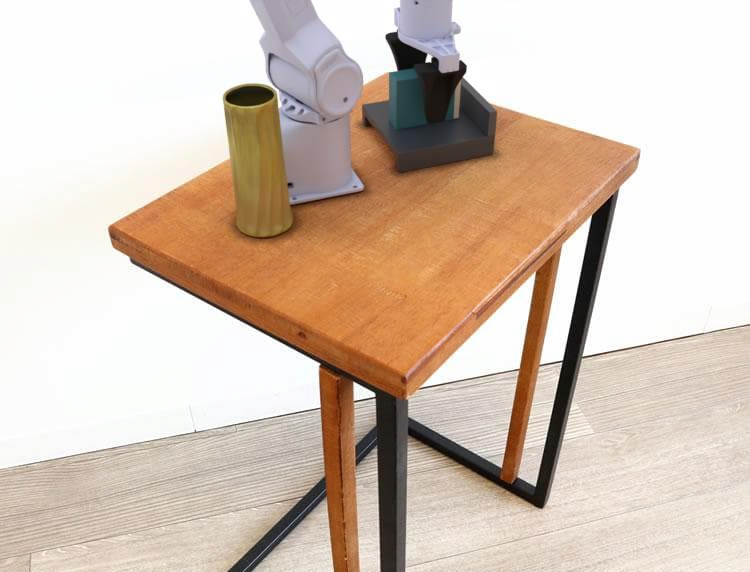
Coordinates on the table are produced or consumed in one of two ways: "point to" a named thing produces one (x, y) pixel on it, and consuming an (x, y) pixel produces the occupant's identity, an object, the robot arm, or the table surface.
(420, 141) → the grey corner tray
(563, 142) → the table surface
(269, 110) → the vase
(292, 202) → the robot arm
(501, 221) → the table surface
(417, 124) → the book
